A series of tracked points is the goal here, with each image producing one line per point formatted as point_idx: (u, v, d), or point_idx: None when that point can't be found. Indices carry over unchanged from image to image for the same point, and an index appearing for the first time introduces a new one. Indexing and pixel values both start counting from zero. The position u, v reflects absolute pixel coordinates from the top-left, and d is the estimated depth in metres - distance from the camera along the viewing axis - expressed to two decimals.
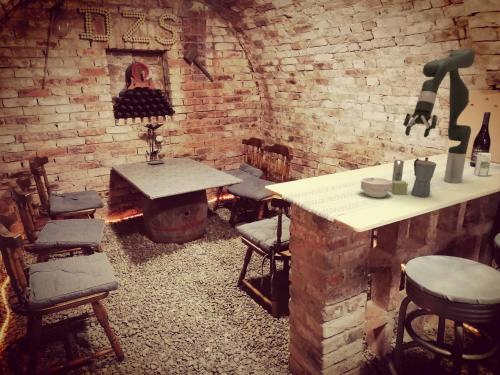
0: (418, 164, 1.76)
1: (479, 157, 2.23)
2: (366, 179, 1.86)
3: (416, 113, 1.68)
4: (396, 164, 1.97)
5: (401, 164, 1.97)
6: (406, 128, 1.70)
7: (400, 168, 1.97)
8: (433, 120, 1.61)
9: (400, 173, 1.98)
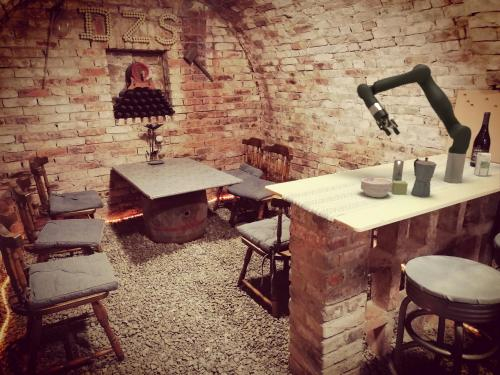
0: (418, 164, 1.76)
1: (479, 157, 2.23)
2: (366, 179, 1.86)
3: None
4: (396, 164, 1.97)
5: (401, 164, 1.97)
6: None
7: (400, 168, 1.97)
8: None
9: (400, 173, 1.98)
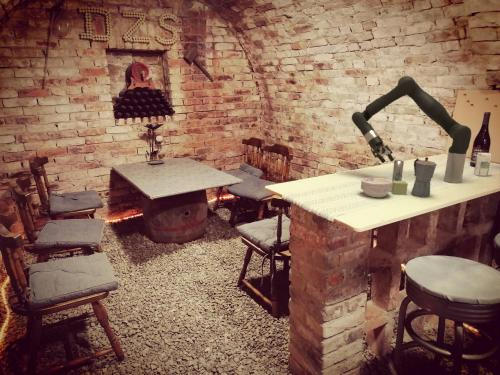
0: (418, 164, 1.76)
1: (479, 157, 2.23)
2: (366, 179, 1.86)
3: None
4: (396, 164, 1.97)
5: (401, 164, 1.97)
6: None
7: (400, 168, 1.97)
8: None
9: (400, 173, 1.98)
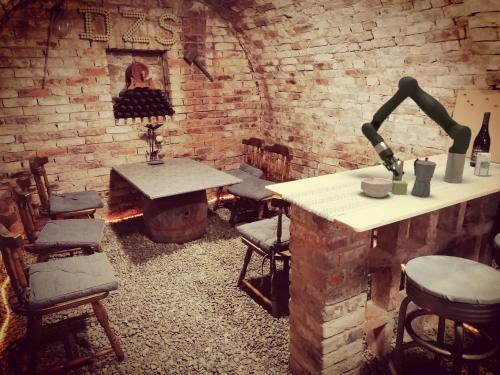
0: (418, 164, 1.76)
1: (479, 157, 2.23)
2: (366, 179, 1.86)
3: None
4: (396, 164, 1.97)
5: (401, 164, 1.97)
6: None
7: (400, 168, 1.97)
8: None
9: (400, 172, 1.98)
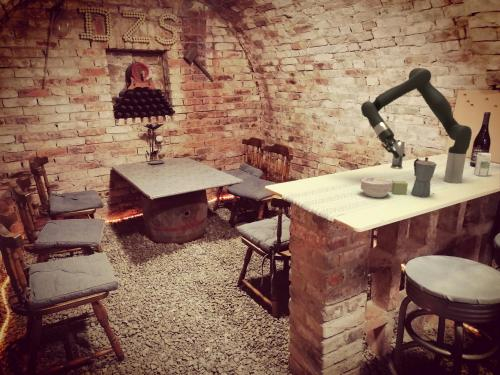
0: (418, 164, 1.76)
1: (479, 157, 2.23)
2: (366, 179, 1.86)
3: None
4: (396, 145, 1.86)
5: (402, 145, 1.85)
6: None
7: (401, 149, 1.86)
8: None
9: (400, 154, 1.87)
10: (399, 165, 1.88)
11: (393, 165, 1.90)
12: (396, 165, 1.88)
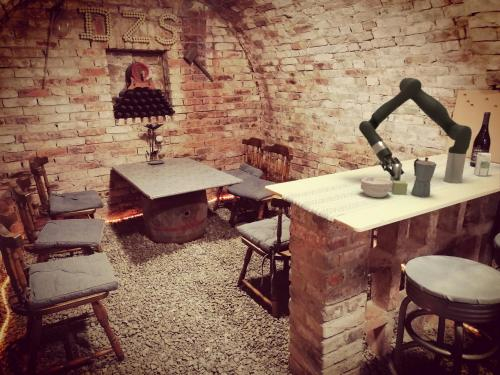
0: (418, 164, 1.76)
1: (479, 157, 2.23)
2: (366, 179, 1.86)
3: None
4: (394, 167, 1.89)
5: (399, 167, 1.89)
6: None
7: (398, 171, 1.89)
8: None
9: (398, 176, 1.90)
10: None
11: None
12: None
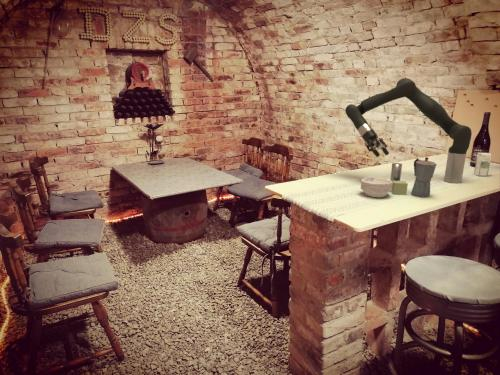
0: (418, 164, 1.76)
1: (479, 157, 2.23)
2: (366, 179, 1.86)
3: None
4: (394, 167, 1.89)
5: (399, 167, 1.89)
6: None
7: (398, 171, 1.89)
8: None
9: (398, 176, 1.90)
10: None
11: None
12: None
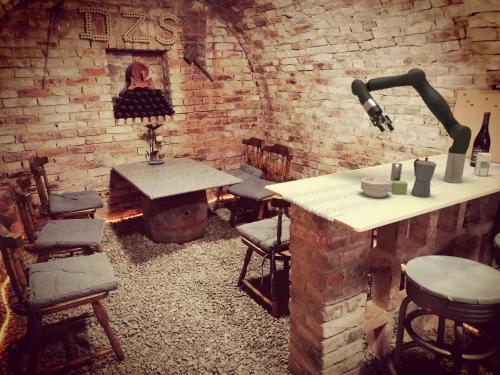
0: (418, 164, 1.76)
1: (479, 157, 2.23)
2: (366, 179, 1.86)
3: None
4: (394, 167, 1.89)
5: (399, 167, 1.89)
6: None
7: (398, 171, 1.89)
8: None
9: (398, 176, 1.90)
10: None
11: None
12: None
